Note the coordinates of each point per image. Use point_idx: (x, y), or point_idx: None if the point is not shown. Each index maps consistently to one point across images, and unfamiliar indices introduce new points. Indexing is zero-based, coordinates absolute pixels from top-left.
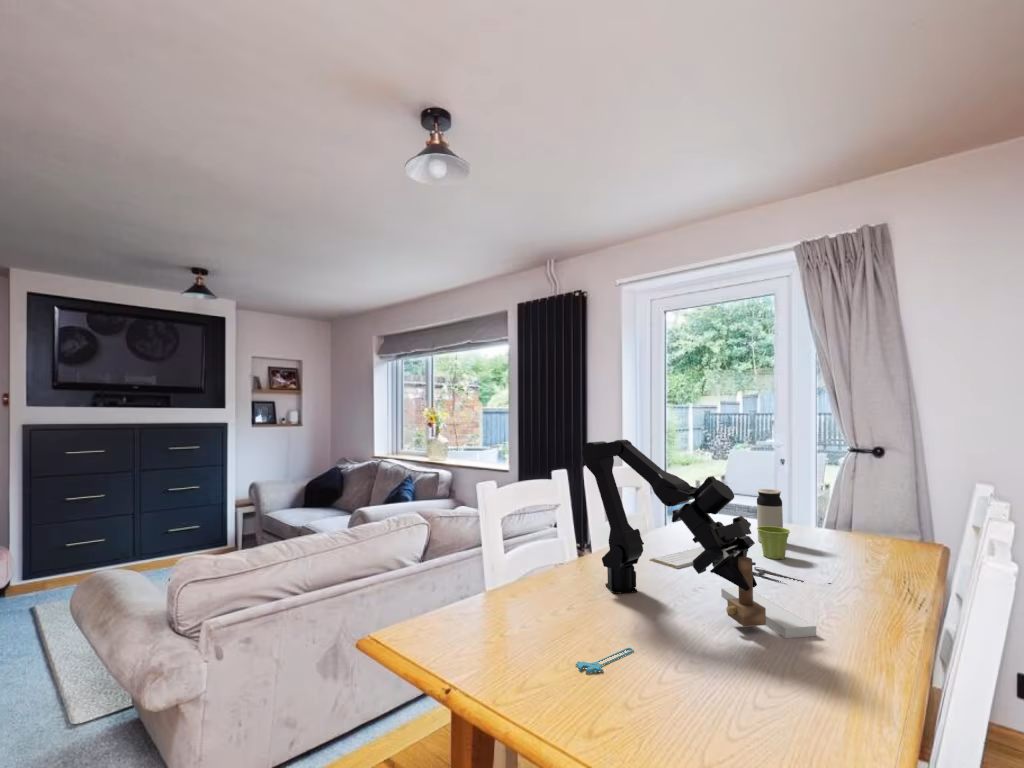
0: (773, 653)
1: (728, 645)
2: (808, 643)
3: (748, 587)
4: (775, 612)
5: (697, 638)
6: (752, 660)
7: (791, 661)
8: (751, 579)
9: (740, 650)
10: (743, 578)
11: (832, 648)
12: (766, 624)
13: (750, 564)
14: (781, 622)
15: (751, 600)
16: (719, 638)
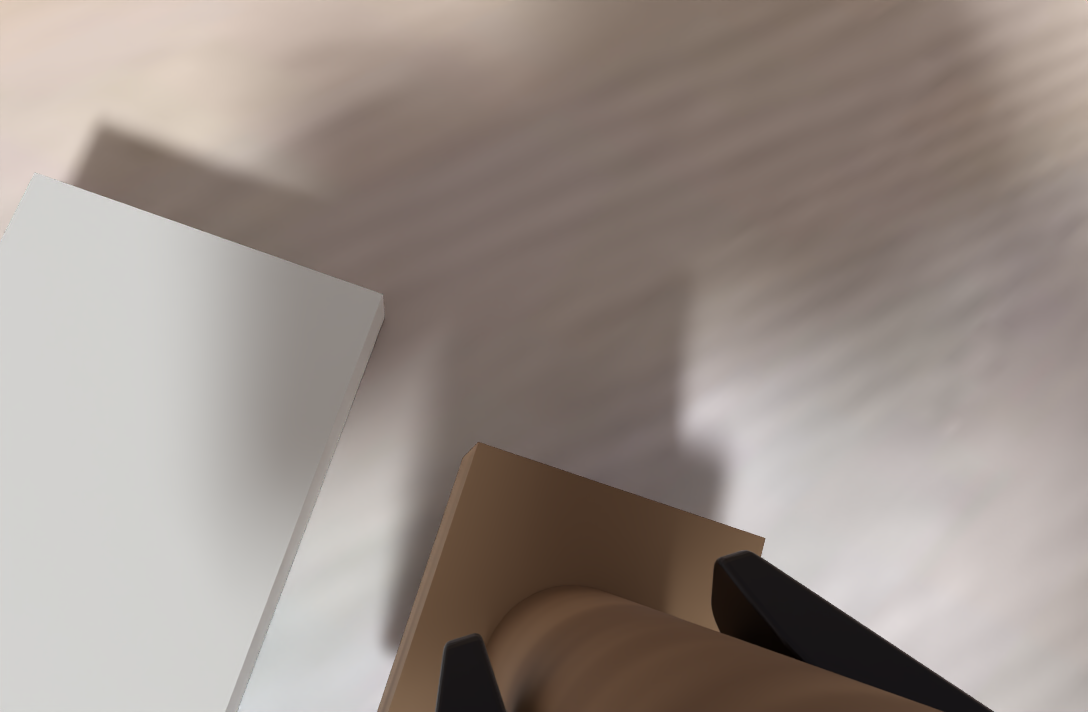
0: (716, 203)
1: (919, 459)
2: (301, 164)
3: (765, 567)
4: (49, 633)
5: (1055, 675)
6: (932, 214)
7: (703, 69)
8: (666, 632)
9: (897, 356)
10: (886, 676)
11: (215, 16)
12: (278, 593)
13: (884, 700)
14: (277, 405)
15: (585, 589)
16: (895, 589)
